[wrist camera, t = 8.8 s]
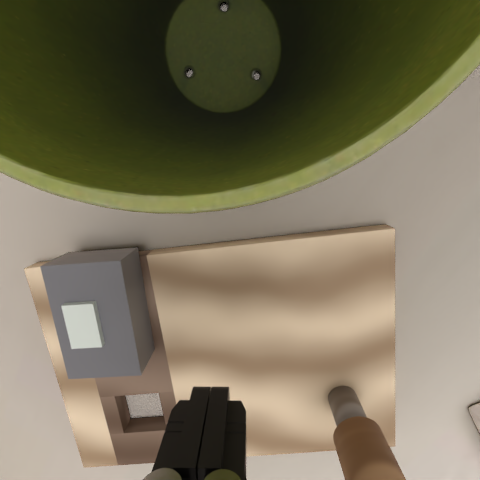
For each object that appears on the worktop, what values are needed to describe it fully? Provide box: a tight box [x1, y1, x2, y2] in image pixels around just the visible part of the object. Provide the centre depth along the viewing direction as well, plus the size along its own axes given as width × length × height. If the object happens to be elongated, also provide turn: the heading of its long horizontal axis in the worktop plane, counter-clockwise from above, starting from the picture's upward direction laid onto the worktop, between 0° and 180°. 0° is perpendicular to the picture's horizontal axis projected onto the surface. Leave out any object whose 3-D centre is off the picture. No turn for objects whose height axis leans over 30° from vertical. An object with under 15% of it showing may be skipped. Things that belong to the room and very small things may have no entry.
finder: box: [40, 247, 155, 379], centre depth 21 cm, size 8×5×3 cm, turn 5°
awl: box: [328, 386, 406, 480], centre depth 19 cm, size 3×3×10 cm
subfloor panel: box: [24, 224, 395, 467], centre depth 24 cm, size 18×26×2 cm
